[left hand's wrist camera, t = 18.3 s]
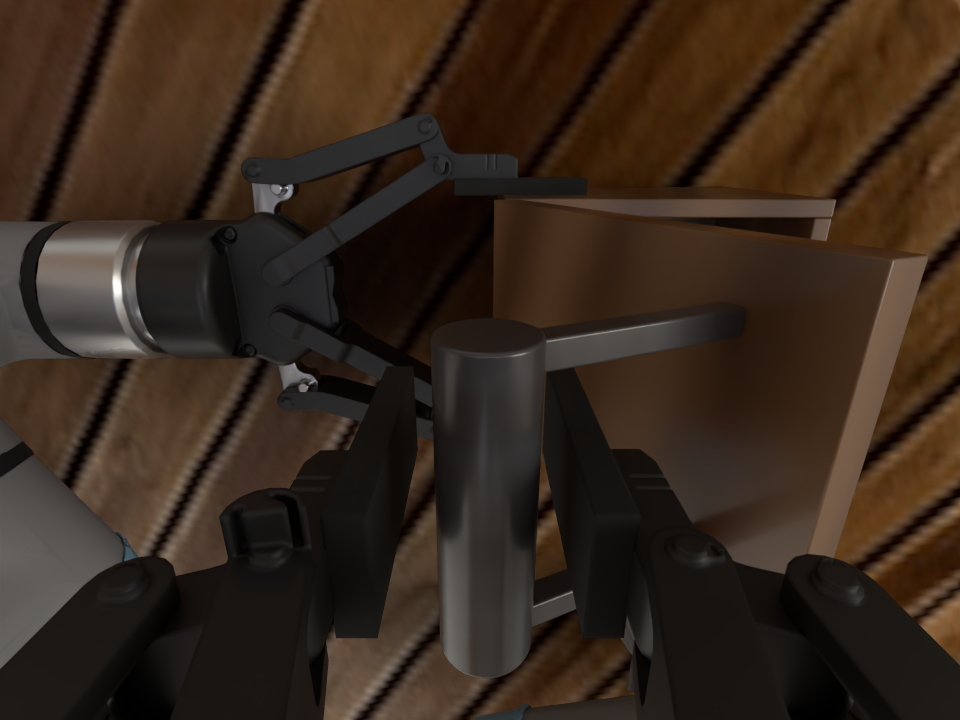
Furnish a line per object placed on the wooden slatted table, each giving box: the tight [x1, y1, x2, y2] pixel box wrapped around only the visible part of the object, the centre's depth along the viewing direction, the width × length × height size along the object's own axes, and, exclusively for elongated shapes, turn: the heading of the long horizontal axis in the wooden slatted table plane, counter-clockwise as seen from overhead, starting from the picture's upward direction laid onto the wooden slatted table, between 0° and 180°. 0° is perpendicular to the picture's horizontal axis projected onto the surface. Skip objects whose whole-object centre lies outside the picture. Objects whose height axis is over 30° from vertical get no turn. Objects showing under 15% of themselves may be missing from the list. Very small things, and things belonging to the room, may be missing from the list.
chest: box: [498, 187, 836, 241], centre depth 30 cm, size 15×10×11 cm
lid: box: [430, 199, 928, 678], centre depth 16 cm, size 16×10×8 cm
